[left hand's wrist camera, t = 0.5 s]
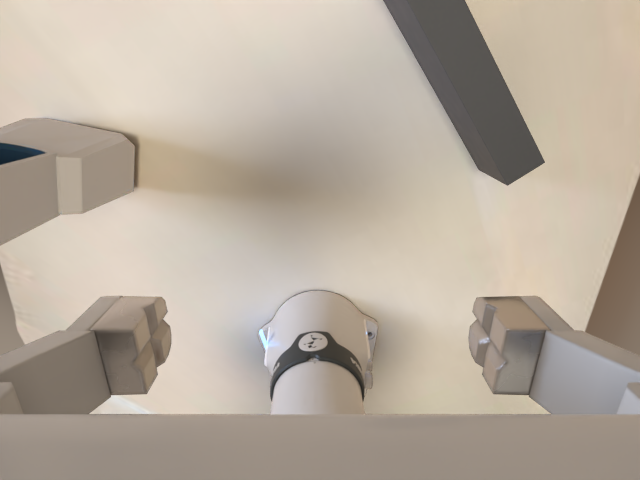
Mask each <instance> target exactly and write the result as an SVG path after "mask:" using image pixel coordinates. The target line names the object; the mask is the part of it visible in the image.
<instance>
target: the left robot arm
mask: <svg viewBox="0 0 640 480" xmlns="http://www.w3.org/2000/svg"><path fill="white" fill-rule="evenodd" d="M166 313H167V307H166V302H165V300H164V299H163V298H162V297H141V296H124V297H123V296H104V297H100V298H99V299H98V300H97V301H96V302H95V303H94V304H93V305H92V306H91V307H90V308H89V309H88V310H86V311H85V312H84V313H83V314H82V315H81V316H80V317H79V318H78V319H77V320H76V321H75V322H74V323H73V324H72V325H71V326H70V327H69V328H68V329H67V330H66V331H57V332H55V333H52V334H50V335H47V336H45V337H43V338H40V339H38V340H36V341H33V342H31V343H29V344H26V345H24V346H21V347H19V348H17V349H14V350H12V351H10V352H7V353H5V354H2V355H0V480H640V355H637V354H635V353H633V352H630V351H628V350H626V349H623V348H621V347H618V346H616V345H614V344H611V343H609V342H607V341H604V340H602V339H600V338H597V337H595V336H593V335H590V334H588V333H585V332H583V331H574V330H573V329H572V328H571V327H570V326H569V325H568V324H567V323H566V322H565V321H564V320H563V319H562V318H561V317H560V316H559V315H558V314H557V313H556V312H555V311H554V310H553V309H552V308H551V307H549V306H548V305H547V304H546V303H545V302H544V301H543V300H542V299H541V298H540V297H537V296H509V297H479V298H476V300H475V302H474V306H473V313H474V315H475V317H476V318H477V320H476V321H475V322H474V323H473V324H472V325H471V326H470V330H469V348H470V351H471V355H472V357H473V359H474V361H475V362H476V363H477V364H479V365H480V366H482V367H483V373H482V375H483V377H484V379H485V380H486V382H487V384H488V386H489V387H490V389H491V391H492V393H493V394H508V395H529V397H530V398H531V399H533V400H534V401H535V402H537V403H538V404H539V405H541V406H542V407H543V408H544V409H546V410H547V411H548V412H550V413H551V414H365V412H364V406H363V400H364V396H365V395H366V391H367V389H371V388H372V383H373V379H372V373H370V371H372V359H373V354H374V348H375V343H376V337H377V332H378V323H377V322H376V321H375V320H374V319H373V318H371V317H369V316H367V315H364V314H362V313H361V312H360V311H359V310H358V309H357V308H356V307H355V306H354V305H353V304H352V303H351V302H350V301H349V300H347V299H346V298H344V297H342V296H340V295H338V294H335V293H332V292H328V291H308V292H304V293H300V294H298V295H296V296H294V297H292V298H290V299H289V300H287V301H286V302H285V303H284V304H283V305H282V306H281V307H280V308H279V310H278V311H277V313H276V314H275V316H274V318H273V319H272V321H271V322H269V323H268V324H266V325H265V326H264V327H262V328H261V329H260V331H259V340H260V343H261V345H262V347H263V350H264V352H265V361H264V363H265V367H267V368H268V371H269V373H270V375H271V383H270V396H271V401H272V406H271V412H270V414H89V413H90V412H92V411H93V410H94V409H96V408H97V407H98V406H100V405H101V404H102V403H104V402H105V401H106V400H107V399H109V398H110V397H111V395H132V394H147V393H148V391H149V389H150V387H151V386H152V384H153V382H154V380H155V379H156V377H157V375H158V373H157V367H158V366H160V365H161V364H163V363H164V362H165V361H166V359H167V357H168V355H169V351H170V347H171V329H170V326H169V325H168V324H167V323H166V322H165V321H164V320H163V318H164V317H165V315H166ZM368 332H371V333H370V334H368Z"/></svg>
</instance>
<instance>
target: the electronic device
mask: <svg viewBox="0 0 640 480" xmlns="http://www.w3.org/2000/svg"><path fill="white" fill-rule="evenodd" d="M134 162H135V146H134V145H133V144H132V143H131V142H130V141H129V140H128V139H127V138H126V137H125V136H124V135H123V134H121V133H116V132H111V131H107V130H102V129H97V128H92V127H87V126H82V125H77V124H72V123H68V122H63V121H58V120H53V119H48V118H25V119H22V120H20V121H17V122H14V123H12V124H9V125H6V126H4V127H1V128H0V245H2V244H4V243H6V242H8V241H10V240H12V239H14V238H16V237H18V236H20V235H22V234H24V233H26V232H28V231H30V230H32V229H34V228H36V227H38V226H40V225H42V224H43V223H45V222H47V221H49V220H51V219H53V218H55V217H57V216H59V215H60V214H62V215H65V214H82V213H85V212H87V211H89V210H92V209H94V208H96V207H99V206H101V205H103V204H105V203H108V202H110V201H112V200H114V199H117V198H119V197H121V196H124V195H126V194H128V193H130V192H133V191H134Z"/></svg>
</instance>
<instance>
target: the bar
mask: <svg viewBox="0 0 640 480" xmlns="http://www.w3.org/2000/svg"><path fill="white" fill-rule="evenodd" d="M384 2H385V4H386V6H387V7H388V9H389V11H390V13H391V14H392V16H393V18H394V20H395V22H396V23H397V25H398V27H399V29H400V30H401V32H402V34H403V36H404V38H405V39H406V41H407V43H408V45H409V46H410V48H411V50H412V52H413V54H414V55H415V57H416V59H417V61H418V62H419V64H420V66H421V68H422V70H423V71H424V73H425V75H426V77H427V78H428V80H429V82H430V84H431V86H432V87H433V89H434V91H435V93H436V94H437V96H438V98H439V100H440V102H441V103H442V105H443V107H444V109H445V110H446V112H447V114H448V116H449V118H450V119H451V121H452V123H453V125H454V126H455V128H456V130H457V132H458V134H459V135H460V137H461V139H462V141H463V142H464V144H465V146H466V148H467V150H468V151H469V153H470V155H471V157H472V158H473V160H474V162H475V164H476V165H477V167H478V169H479V170H480V171H482V172H484V173H486V174H487V175H489V176H491V177H493V178H495V179H497V180H498V181H500V182H502V183H504V184H506V185H509V184H511V183H512V182H514V181H516V180H517V179H519V178H521V177H522V176H524V175H525V174H527V173H529V172H530V171H532V170H534V169H535V168H537V167H538V166H540V165H542V164H543V163H545V162H544V160H543V158H542V155H541V153H540V151H539V149H538V147H537V145H536V143H535V141H534V139H533V137H532V135H531V133H530V131H529V129H528V127H527V125H526V123H525V121H524V119H523V117H522V115H521V113H520V111H519V109H518V107H517V105H516V103H515V101H514V99H513V97H512V95H511V93H510V91H509V89H508V87H507V85H506V83H505V81H504V79H503V77H502V75H501V73H500V71H499V69H498V67H497V65H496V63H495V61H494V59H493V56H492V54H491V52H490V50H489V48H488V46H487V44H486V42H485V40H484V38H483V36H482V34H481V32H480V30H479V28H478V26H477V24H476V22H475V20H474V18H473V16H472V14H471V12H470V10H469V8H468V6H467V4H466V2H465V0H384Z"/></svg>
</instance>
